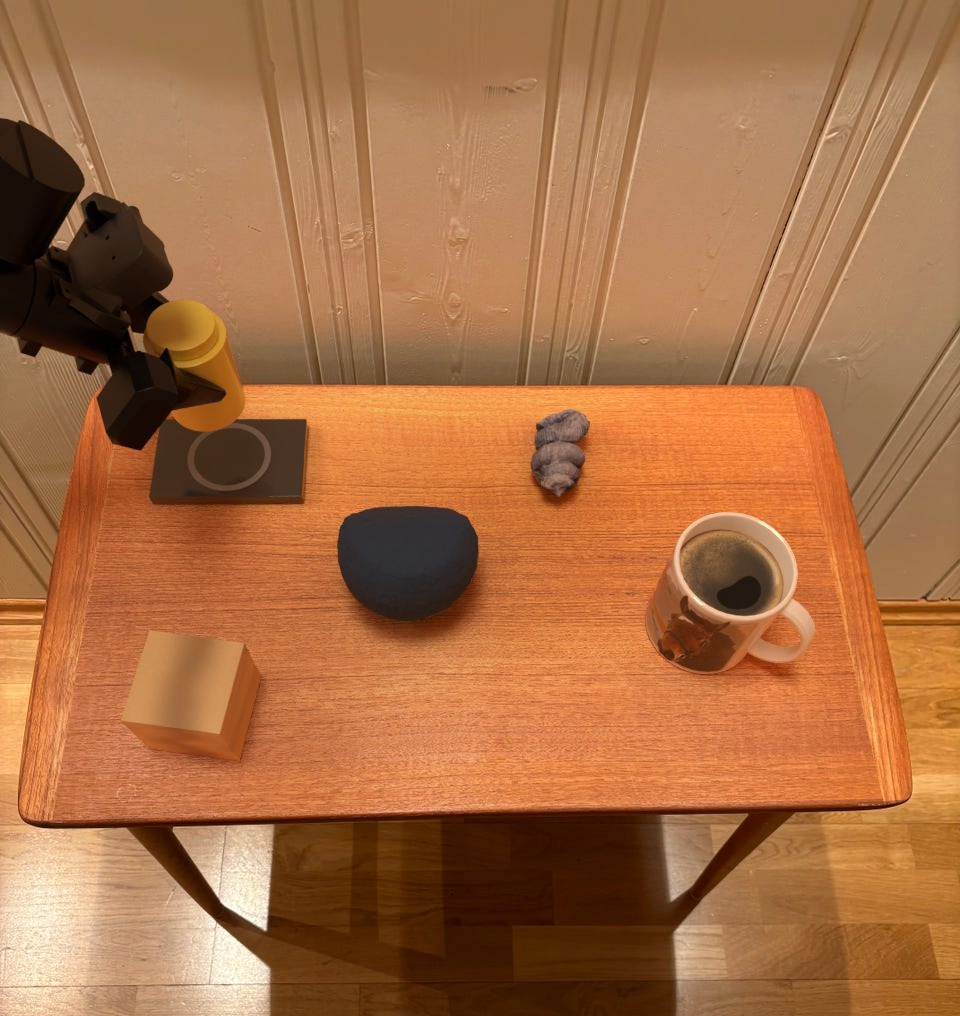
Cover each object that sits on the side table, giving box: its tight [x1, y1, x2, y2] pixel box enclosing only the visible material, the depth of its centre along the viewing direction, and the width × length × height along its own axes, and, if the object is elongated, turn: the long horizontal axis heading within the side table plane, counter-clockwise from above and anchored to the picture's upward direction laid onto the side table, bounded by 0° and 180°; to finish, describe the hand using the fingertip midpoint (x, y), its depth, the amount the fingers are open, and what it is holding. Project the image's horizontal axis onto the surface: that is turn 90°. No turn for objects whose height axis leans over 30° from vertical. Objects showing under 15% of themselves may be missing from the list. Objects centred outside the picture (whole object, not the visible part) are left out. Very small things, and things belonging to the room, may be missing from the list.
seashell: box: [530, 408, 591, 498], centre depth 83 cm, size 5×5×10 cm
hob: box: [148, 418, 309, 505], centre depth 83 cm, size 14×9×1 cm, turn 92°
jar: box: [142, 299, 247, 432], centre depth 71 cm, size 6×6×9 cm
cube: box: [120, 629, 262, 762], centre depth 70 cm, size 8×8×7 cm
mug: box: [644, 511, 816, 675], centre depth 73 cm, size 10×12×11 cm
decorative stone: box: [336, 505, 480, 623], centre depth 74 cm, size 12×12×10 cm
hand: (213, 365), depth 72 cm, fingers closed on jar, 6 cm apart
